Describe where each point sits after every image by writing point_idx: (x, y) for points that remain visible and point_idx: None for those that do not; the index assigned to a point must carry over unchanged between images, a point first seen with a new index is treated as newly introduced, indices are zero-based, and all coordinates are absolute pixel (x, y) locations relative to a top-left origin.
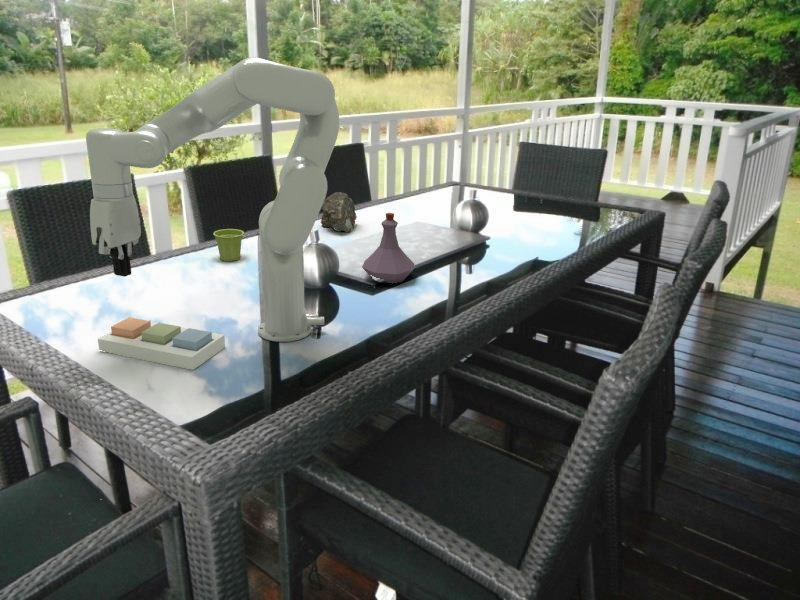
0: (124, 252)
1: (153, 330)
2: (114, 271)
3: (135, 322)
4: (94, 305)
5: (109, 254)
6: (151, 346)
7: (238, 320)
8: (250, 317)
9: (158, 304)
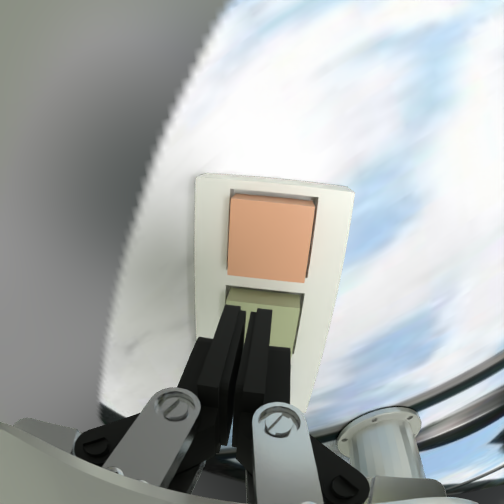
0: (250, 466)
1: (247, 321)
2: (222, 315)
3: (282, 249)
4: (443, 4)
5: (117, 430)
6: (207, 325)
7: (428, 363)
8: (440, 372)
9: (497, 154)
